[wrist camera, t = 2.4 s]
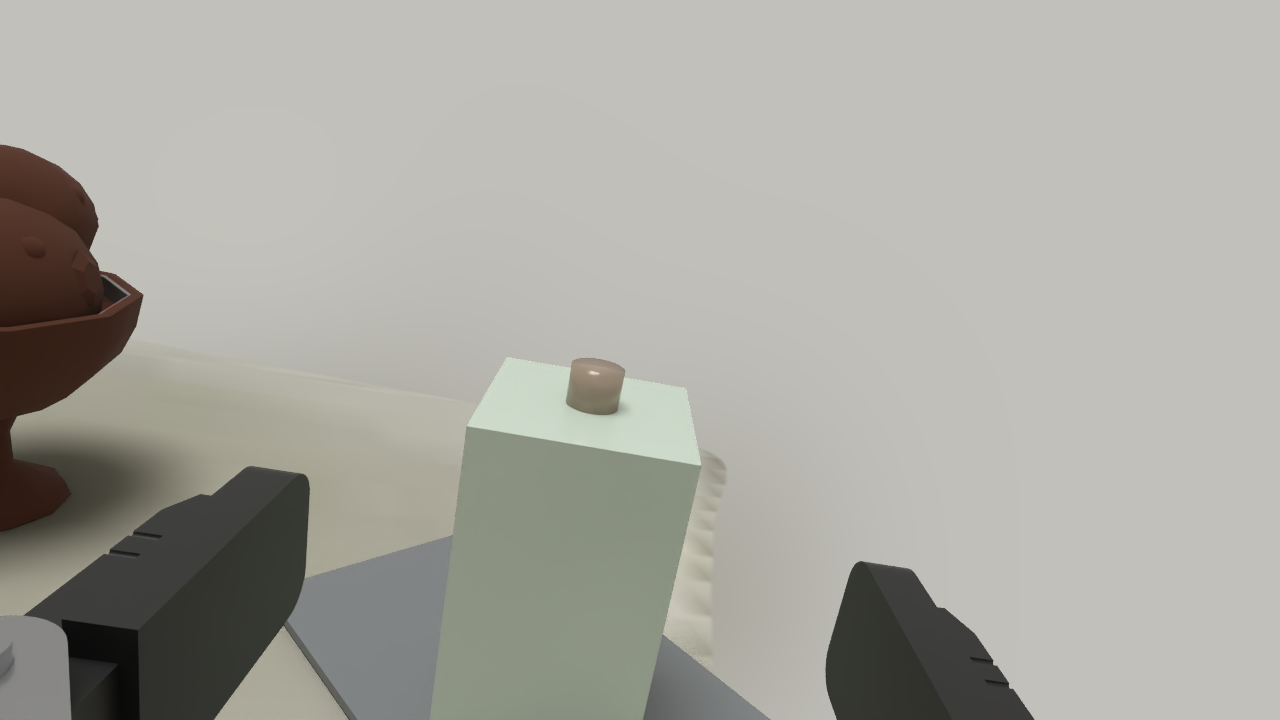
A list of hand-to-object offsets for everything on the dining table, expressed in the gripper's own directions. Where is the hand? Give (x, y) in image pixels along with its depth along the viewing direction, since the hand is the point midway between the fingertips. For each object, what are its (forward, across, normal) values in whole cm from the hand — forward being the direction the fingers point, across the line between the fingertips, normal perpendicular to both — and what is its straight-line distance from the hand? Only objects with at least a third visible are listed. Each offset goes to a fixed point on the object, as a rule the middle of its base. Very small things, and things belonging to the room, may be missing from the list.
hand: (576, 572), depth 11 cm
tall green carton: (+12, 0, +13) cm, 18 cm away
